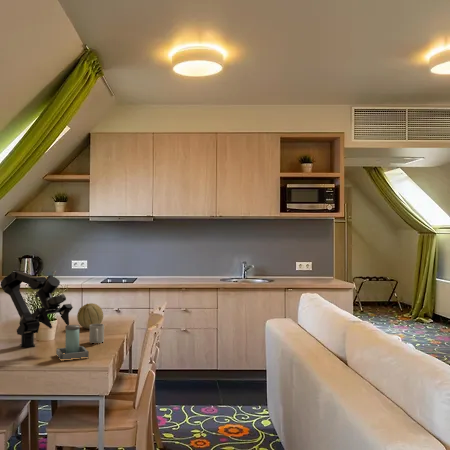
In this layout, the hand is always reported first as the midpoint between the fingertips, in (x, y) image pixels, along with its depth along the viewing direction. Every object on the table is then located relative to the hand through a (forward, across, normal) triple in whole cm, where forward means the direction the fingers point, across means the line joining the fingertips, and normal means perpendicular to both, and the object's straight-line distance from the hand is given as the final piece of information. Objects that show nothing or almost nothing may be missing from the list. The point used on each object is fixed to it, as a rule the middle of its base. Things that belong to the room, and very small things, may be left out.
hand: (59, 326), depth 224 cm
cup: (+7, +25, +12) cm, 29 cm away
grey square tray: (+15, +1, +3) cm, 15 cm away
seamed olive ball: (-15, +46, +36) cm, 60 cm away
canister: (+15, +1, +3) cm, 15 cm away
